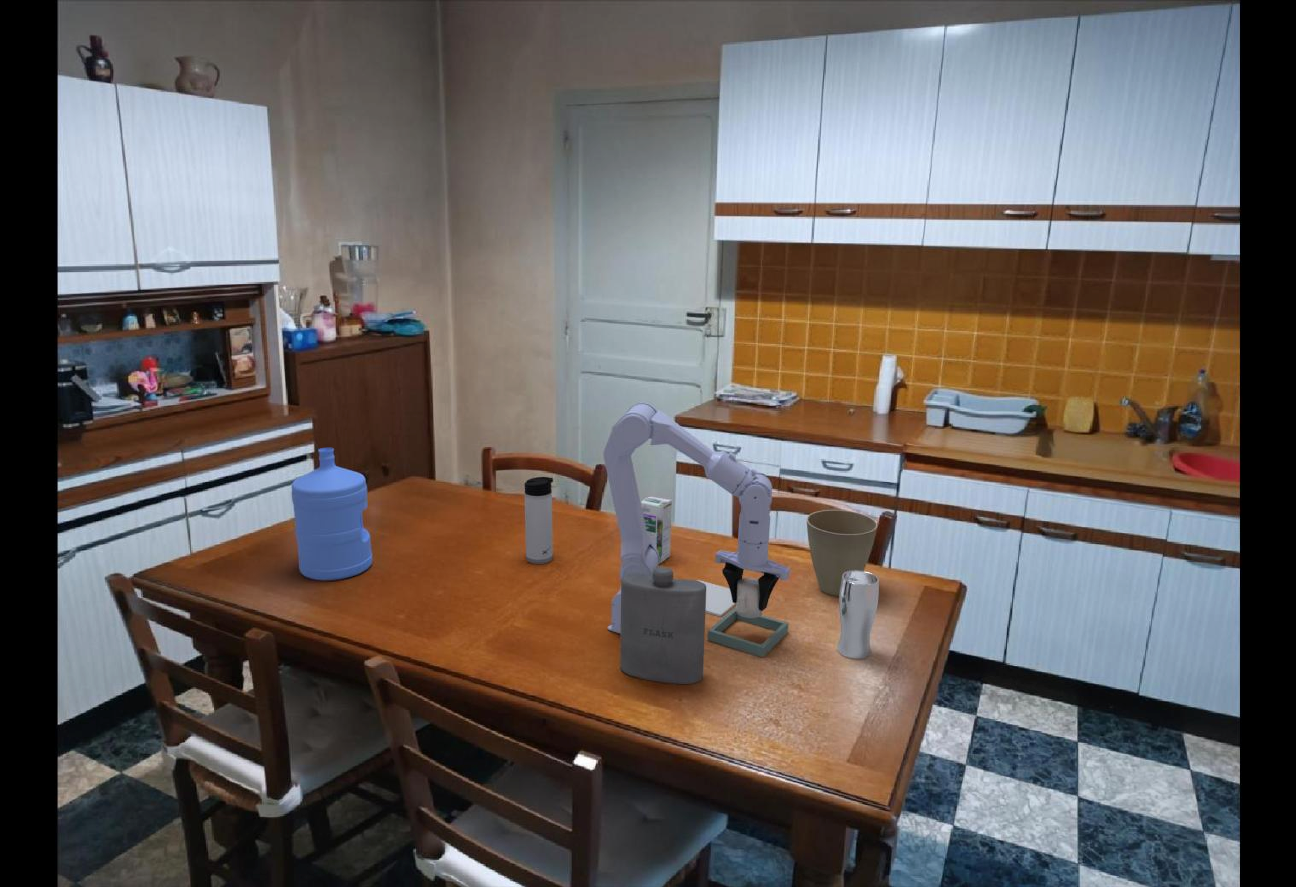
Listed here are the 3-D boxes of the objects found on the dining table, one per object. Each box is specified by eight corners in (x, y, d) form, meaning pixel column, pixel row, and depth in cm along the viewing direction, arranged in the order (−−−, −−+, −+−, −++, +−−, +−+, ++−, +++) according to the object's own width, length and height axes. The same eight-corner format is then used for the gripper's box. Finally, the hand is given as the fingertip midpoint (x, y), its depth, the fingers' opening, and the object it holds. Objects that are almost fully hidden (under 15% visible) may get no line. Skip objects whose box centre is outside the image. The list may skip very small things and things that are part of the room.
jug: (743, 603, 157) (744, 575, 155) (766, 610, 154) (768, 581, 153) (727, 616, 151) (729, 587, 150) (751, 623, 149) (753, 594, 147)
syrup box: (638, 559, 190) (639, 501, 186) (650, 551, 195) (651, 494, 191) (659, 564, 187) (661, 506, 183) (671, 556, 192) (672, 498, 188)
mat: (720, 617, 162) (720, 614, 162) (670, 602, 168) (670, 599, 168) (746, 595, 172) (746, 593, 172) (697, 581, 178) (697, 579, 178)
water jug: (324, 588, 172) (312, 463, 164) (285, 569, 181) (272, 450, 174) (386, 565, 184) (378, 448, 177) (347, 548, 193) (337, 436, 186)
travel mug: (552, 564, 186) (551, 482, 181) (524, 564, 186) (522, 482, 181) (555, 554, 192) (554, 474, 187) (528, 553, 192) (526, 474, 187)
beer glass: (845, 638, 155) (851, 566, 151) (879, 650, 150) (886, 576, 147) (828, 652, 149) (834, 578, 146) (863, 664, 145) (870, 589, 141)
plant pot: (815, 569, 186) (820, 505, 181) (878, 584, 178) (885, 517, 174) (791, 593, 173) (796, 524, 169) (859, 611, 166) (866, 539, 162)
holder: (763, 657, 147) (763, 647, 147) (707, 640, 153) (707, 630, 152) (787, 632, 157) (788, 622, 156) (734, 616, 163) (734, 607, 162)
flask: (615, 676, 140) (616, 571, 135) (624, 659, 146) (625, 557, 140) (699, 689, 137) (703, 581, 132) (705, 671, 142) (709, 567, 137)
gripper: (798, 540, 149) (793, 606, 153) (728, 524, 157) (725, 587, 160) (783, 552, 143) (778, 621, 147) (711, 535, 151) (708, 600, 154)
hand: (749, 604), depth 153 cm, fingers closed on jug, 5 cm apart
